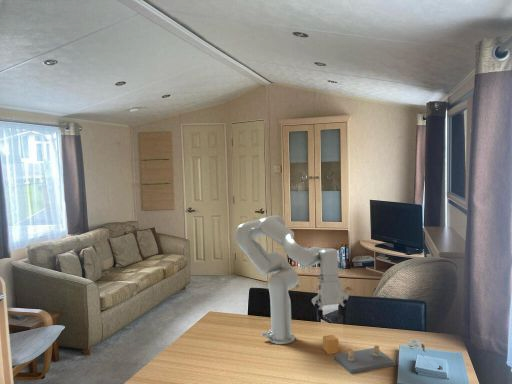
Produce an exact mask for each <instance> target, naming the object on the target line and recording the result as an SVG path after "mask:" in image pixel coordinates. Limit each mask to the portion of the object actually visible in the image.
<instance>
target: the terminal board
mask: <svg viewBox="0 0 512 384" xmlns="http://www.w3.org/2000/svg"><path fill="white" fill-rule="evenodd" d="M347 351H348V352H343V353H342V352H341V353H337V354H336V353H335V354H333V359H335V360H336V362H338V363H339V364H340V365H341V366H342V367H343V368H344V369H345V370H347V371H348V372H349V373H350V374H358V373H362V372H366V371H367V372H369V371H372V370H378V369H382V368H383V369H385V368H389V367H393V366H394V367H395V366H396V365H397V364H396V361H395V360H394V359H392V358H391V357H389V355H387V354H385V353H384V352H383V351H382V350H380V346H379V345H377V344H376V345H374V347H372V348H367V349H361V350H353V349H348V350H347Z"/></svg>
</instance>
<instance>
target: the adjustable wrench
mask: <svg viewBox="0 0 512 384" xmlns="http://www.w3.org/2000/svg"><path fill="white" fill-rule="evenodd" d="M406 344H407V347H408V346H409V347H415V348H418V349H424V348H423V344H422V341H420V340H418V339H412V342H411V341H410V340H407V343H406ZM409 347H408V348H409Z"/></svg>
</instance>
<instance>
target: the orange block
mask: <svg viewBox="0 0 512 384" xmlns="http://www.w3.org/2000/svg"><path fill="white" fill-rule="evenodd" d="M339 343H340V342H339V338H338V337H337V336H336V335H334V334H329V335H323V336H322V350H323V351H324V352H325V353H327V354H328V355H329V354H334V353H335V354H336V353H339V351H340V350H339V349H340V348H339Z"/></svg>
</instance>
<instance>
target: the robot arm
mask: <svg viewBox="0 0 512 384" xmlns="http://www.w3.org/2000/svg"><path fill="white" fill-rule="evenodd" d="M234 236H235V241H236V244H237V246H238V247H239V248H240V250H241V251H242V252H243V253H244V255H246V256H247V258H248V259H249V260H250V262H251V263H252V265H254V267H255V268H256V270H258V271H259V273H260V274H261V275H263V276H267V275H268V276H269V275H271V274H272V275H271V276H270V277H269V278H268V281H267V287H268V292H269V299H270V300H269V301H270V302H269V303H270V328H269V330H268V331H267V332H266V331H265V332H261V333H260V335H261V337H262V338H264V337H265V338H266V339H268V341H269V342H270V343H272V344H276V345H286V344H287V345H289V344H291V343H294V341H295V340H296V337H295V334H293V333H292V304H291V298H290V294H289V291H290V290H292V289H293V288H295V287H296V286H297V285H298V284H299V280H300V279H299V275H298V273H297V271H296V270H295V269H294V268H293V266H292V265H291V264H290V263H289V262H288V260H287V259H286V258H285V257H284V256H283V255H282V254H281V253H279V252H277V251H272V252H267V250H265V248H264V247H263V246H262V244H260V243H259V242H257V241H256V240H255V239H256V238H260V237H264V236H267V237H269V238H270V239H271V240H272V241H275V242H276V243H277V244H279V245H280V246H281V247H282V248H283V251H284V252H285V253H286V255H287V256H288V257H289V259H291V260H293V261H294V262H295V263H297V264H298V265H300V266H302V267H305V268H310V267H312V266H313V267H314V266H315V265H318V264H320V273H319V275H318V276H317V279H318V280H319V283H318V288H317V290H318V291H317V295H315V296H314V297H313V298H311V303H312V304H313V306H314V307H316V309H317V316H318V318H319V319H321V320H323V319H324V310H323V307H324V306H332V305H338V306H337V309H338V311H337V313H338V315H340V316H342V317H343V316H344V313H345V312H344V309H345V308H344V307H345V306H346V304H347V302H348V300H349V297H350V295H348V294H346V293H345V292H343V285H342V282H341V280H340V279H339V257H338V256H339V254H338V251H337V249H336V248H324V247H319V246H312V247H309V248H304V247H303V246H301V245H300V244H299V243H298V242H296V240H295V232H294V230H292V229H291V228H289V227H287V226H286V221H285V219H284V218H283V217H282V216H280V215H277V214H275V215H270V216H269V215H268V216H265V217H264V218H260V219H256V220H255V219H254V220H250V221H247V222H243V223H241V224H239V225H238V226H237V228H236V230H235V235H234ZM317 301H318V303H317Z"/></svg>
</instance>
